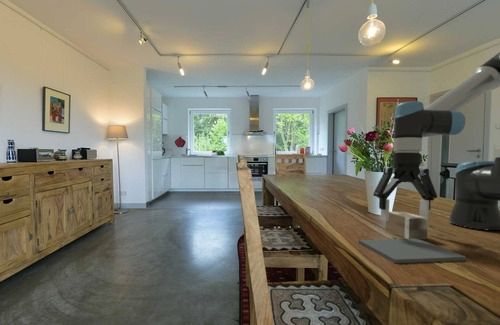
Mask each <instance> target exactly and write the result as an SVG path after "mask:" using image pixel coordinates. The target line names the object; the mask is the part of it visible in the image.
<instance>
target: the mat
mask: <svg viewBox="0 0 500 325" xmlns="http://www.w3.org/2000/svg"><path fill="white" fill-rule="evenodd" d="M358 244H360V245H361V246H363V247H365V248H367V249H369V250H371V251H372V252H374V253H376V254H377V255H379V256H381V257H383V258H384V259H386V260H389V262H392V263H394V264H408V263H410V264H411V263H429V262H430V263H432V262H435V263H437V262H456V261H458V262H459V261H467V257H466V256H465V255H462V254H460V253H457V252H455V251H452V250H449V249H446V248H444V247H441V246H439V245H436V244H432V243H430V242H427V241H425V240H424V239H406V238H392V239H391V238H388V239H387V238H386V239H385V238H384V239H383V238H382V239H359V240H358Z"/></svg>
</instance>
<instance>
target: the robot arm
mask: <svg viewBox="0 0 500 325" xmlns="http://www.w3.org/2000/svg"><path fill="white" fill-rule="evenodd" d="M499 87H500V52H498V53H497V54H495V55H494V56H492V57H491V58H490V59H488V60H487V61H485V62H484V63H483V64H481V65H480V66H479V67H478V68H476V69H475V70H474V71H473V72H472V75H471V76H469V77H468V78H466V79H465V80H463V81H462V82H461V83H459V84H457V85H456V86H455V87H453V88H452V89H450V90H449V91H447V92H446V93H445V94H443V95H442V96H440V97H439V98H437V99H436V100H434V101H433V102H432V103H430V104H429V105H427V106H425V107H424V103H423V102H422V101H419V100H418V101H417V100H413V101H412V100H411V101H410V100H409V101H404V102H401V103H398V104H397V105H396V106H395V110H394V118H393V119H394V123H393V124H394V128H393V129H394V130H393V133H394V134H393V152H394V153H393V155H392V164H393V167H391V166H385V167H384V168H383V173H382V176H381V177H380V180H379V182H378V184H377V186H376V187H375V189H374V192H372V193H373V194H372V195H373V196H374V197H376V198H377V199H379V201H378V208H379V210H380V220H382V221H385V222H386V221H389V212H390V199H388V198H389V196H390V195H391V194H392V193H393V192H394V191H395V190H396V188H397V187H398V185H400V184H402V183H411V184H412V186H414V188H415V189H416V191H417V192H418V194H419V195H420V197H421V198H420V199H419V215H418V216H422V217H425V218H428V219H429V212H430V210H431V201H434V200H435V199H436V198H438V194H437V192H436V190H435V187H434V184H433V182H432V179H431V177H430V170H429V168H420V165H422V154H421V153H420V152H422V149H423V147H422V145H423V138H427V137H434V136H456V135H459V134H460V133H461V132H462V131H463V130H464V128H465V126H466V117H465V114H464V113H463V112H461V111H460V110H462V109H463V108H464V107H467V106H468V105H470V104H471V103H472V102H474V101H476V100H477V99H478V98H480V97H482V95H484V94H486V93H487V92H488V91H494V90H496V89H498V88H499ZM393 174H394V175H393ZM499 201H500V154H499V155H497V156H496V157H494V160H480V161H467V162H461V163H459V164H458V165H457V166H456V170H455V202H454V205H453V207H452V210H451V212H450V214H449V216H448V217H449V218H448V222H449V221H450V222H452V223H454V224H457V225H461V226H466V227H471V228H478V229H488V230H500V208H499Z"/></svg>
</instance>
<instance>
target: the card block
mask: <svg viewBox="0 0 500 325" xmlns="http://www.w3.org/2000/svg"><path fill="white" fill-rule="evenodd" d="M428 224H429V217H428V218H425V217H422V216H419V215H417V214H413V213H409V212H406V211H389V221H385V231H386V230H387V232H389V233H391V234H395V235H396V236H399V237H402V238H403V239H420V240H428V226H429V225H428Z"/></svg>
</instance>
